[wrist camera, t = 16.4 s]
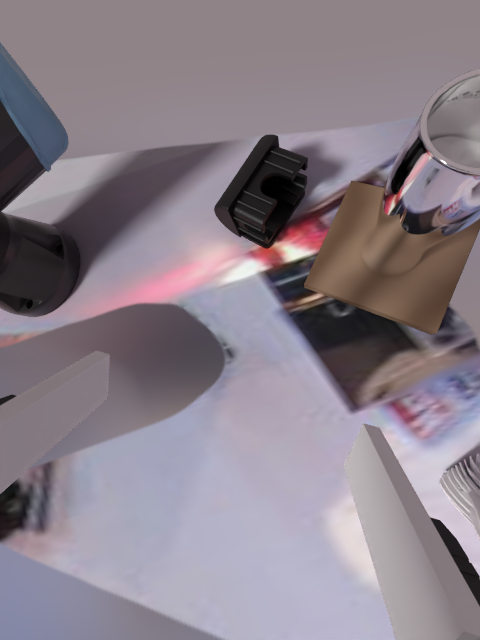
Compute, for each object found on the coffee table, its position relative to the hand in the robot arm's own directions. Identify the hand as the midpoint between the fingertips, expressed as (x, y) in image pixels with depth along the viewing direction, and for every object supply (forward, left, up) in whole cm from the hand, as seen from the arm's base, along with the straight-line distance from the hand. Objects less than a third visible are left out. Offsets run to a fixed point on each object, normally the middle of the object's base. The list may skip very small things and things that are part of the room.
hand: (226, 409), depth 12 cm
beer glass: (+6, +19, -16) cm, 26 cm away
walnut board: (+6, +19, -17) cm, 26 cm away
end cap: (-10, +20, -17) cm, 28 cm away
